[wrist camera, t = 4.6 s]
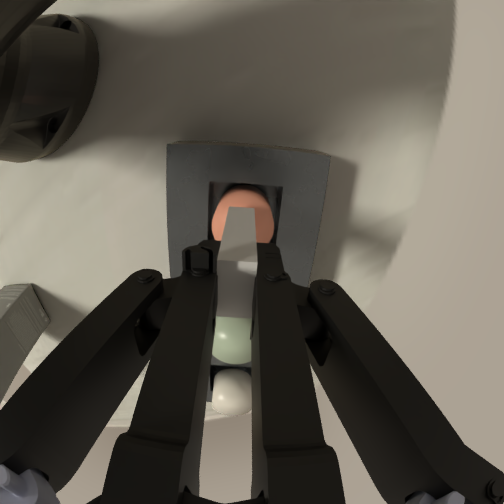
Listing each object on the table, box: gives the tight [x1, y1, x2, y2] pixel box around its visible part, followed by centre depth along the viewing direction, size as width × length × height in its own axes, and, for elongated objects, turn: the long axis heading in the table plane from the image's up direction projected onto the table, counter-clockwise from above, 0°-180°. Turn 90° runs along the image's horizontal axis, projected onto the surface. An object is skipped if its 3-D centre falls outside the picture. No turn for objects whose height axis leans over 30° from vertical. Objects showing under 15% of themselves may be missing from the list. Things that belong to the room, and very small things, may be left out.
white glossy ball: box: [212, 369, 252, 416], centre depth 25 cm, size 4×4×4 cm
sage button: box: [212, 316, 252, 364], centre depth 21 cm, size 4×4×4 cm
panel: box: [166, 141, 331, 402], centre depth 25 cm, size 11×28×4 cm, turn 175°
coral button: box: [212, 185, 274, 243], centre depth 19 cm, size 4×4×4 cm
